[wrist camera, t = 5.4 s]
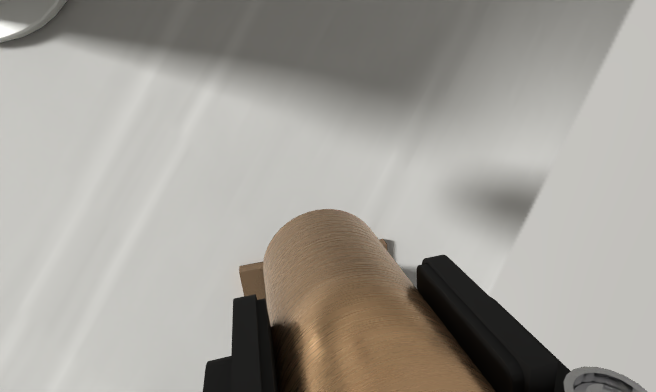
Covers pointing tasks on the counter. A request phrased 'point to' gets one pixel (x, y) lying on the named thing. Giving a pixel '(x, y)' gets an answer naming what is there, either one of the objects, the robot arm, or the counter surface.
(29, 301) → the counter surface
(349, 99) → the counter surface
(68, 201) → the counter surface
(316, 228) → the copper tube
